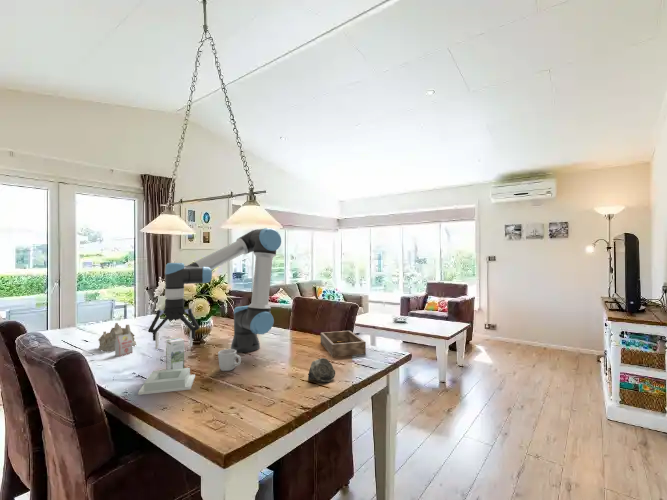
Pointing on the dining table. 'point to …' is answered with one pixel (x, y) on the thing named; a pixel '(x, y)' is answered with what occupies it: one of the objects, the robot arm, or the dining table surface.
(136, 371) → the dining table surface
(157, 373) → the white tray
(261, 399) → the dining table surface
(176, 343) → the syrup box
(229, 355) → the cup
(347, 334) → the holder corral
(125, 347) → the tea bag
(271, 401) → the dining table surface
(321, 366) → the fossil
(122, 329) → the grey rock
